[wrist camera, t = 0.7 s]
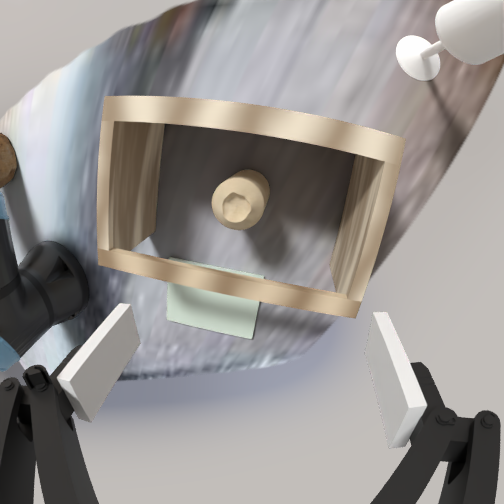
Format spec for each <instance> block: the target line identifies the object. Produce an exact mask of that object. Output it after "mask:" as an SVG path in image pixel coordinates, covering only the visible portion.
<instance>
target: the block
mask: <svg viewBox="0 0 504 504" xmlns="http://www.w3.org/2000/svg"><path fill="white" fill-rule="evenodd" d="M16 167H17V163H16V156H15V152H14V149H13V147H12V146H11V144H10V141H9V140H8V138H7V137H6V136H5V135H3V134H2V133H0V188H1V187H3V186H4V185H6V184H7V183H8V182H10V181H11V180H12V178H13V177H14V173H15V170H16Z"/></svg>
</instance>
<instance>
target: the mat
mask: <svg viewBox="0 0 504 504" xmlns="http://www.w3.org/2000/svg"><path fill="white" fill-rule="evenodd" d="M169 260H173V261H177V262H182V263H187V264H192V265H197V266H201V267H206V268H211V269H216V270H221V271H226V272H231V273H236V274H241V275H246V276H251V277H256V278H261V279H264V276H262V275H257V274H252V273H247V272H242V271H237V270H232V269H227V268H222V267H217V266H212V265H207V264H202V263H197V262H193V261H188V260H183V259H178V258H173V257H169ZM258 306H259V301H255V300H250V299H245V298H240V297H235V296H230V295H226V294H221V293H216V292H211V291H207V290H202V289H198V288H193V287H189V286H184V285H180V284H175V283H171V282H168V286H167V320H170V321H173V322H177V323H181V324H186V325H190V326H194V327H198V328H202V329H207V330H211V331H215V332H220V333H224V334H229V335H234V336H239V337H243V338H248V339H252V336H253V331H254V326H255V321H256V316H257V311H258Z"/></svg>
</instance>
